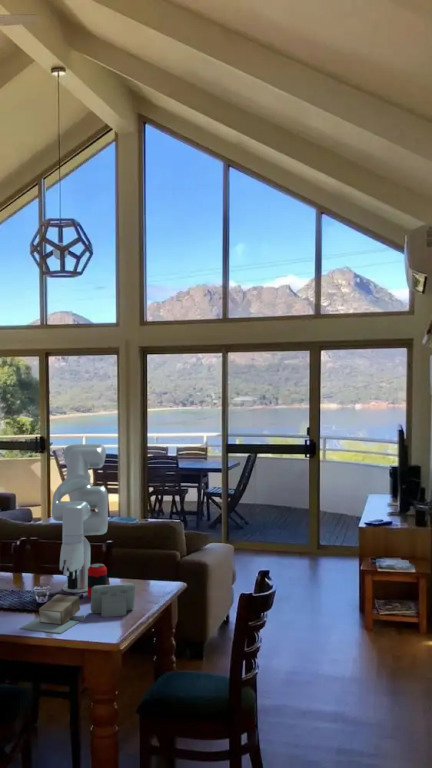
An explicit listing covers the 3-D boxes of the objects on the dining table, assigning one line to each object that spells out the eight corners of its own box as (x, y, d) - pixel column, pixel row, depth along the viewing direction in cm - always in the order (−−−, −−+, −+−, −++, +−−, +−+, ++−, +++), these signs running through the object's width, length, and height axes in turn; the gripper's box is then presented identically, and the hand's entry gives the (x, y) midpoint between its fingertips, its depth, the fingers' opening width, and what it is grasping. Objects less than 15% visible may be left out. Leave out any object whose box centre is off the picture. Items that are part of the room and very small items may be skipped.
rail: (45, 614, 236) (45, 610, 236) (84, 619, 231) (84, 615, 231) (43, 616, 235) (43, 612, 235) (82, 620, 230) (82, 616, 230)
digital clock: (135, 609, 244) (135, 580, 244) (134, 616, 235) (134, 587, 235) (92, 609, 243) (92, 581, 243) (88, 617, 234) (89, 587, 234)
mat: (39, 617, 233) (39, 616, 233) (79, 622, 228) (79, 621, 228) (19, 628, 222) (19, 627, 222) (60, 634, 217) (60, 632, 217)
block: (57, 594, 238) (38, 609, 226) (79, 596, 235) (60, 611, 223) (58, 607, 238) (39, 622, 227) (80, 609, 235) (62, 625, 224)
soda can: (96, 599, 255) (96, 568, 256) (83, 596, 260) (83, 565, 260) (110, 595, 261) (110, 564, 262) (97, 591, 266) (97, 562, 266)
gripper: (74, 533, 248) (74, 582, 248) (52, 542, 234) (52, 593, 234) (92, 535, 246) (91, 584, 245) (70, 543, 232) (70, 595, 231)
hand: (72, 588), depth 240 cm, fingers closed
